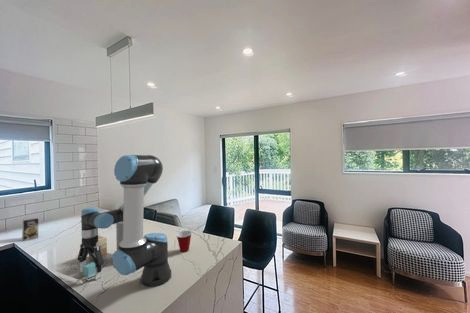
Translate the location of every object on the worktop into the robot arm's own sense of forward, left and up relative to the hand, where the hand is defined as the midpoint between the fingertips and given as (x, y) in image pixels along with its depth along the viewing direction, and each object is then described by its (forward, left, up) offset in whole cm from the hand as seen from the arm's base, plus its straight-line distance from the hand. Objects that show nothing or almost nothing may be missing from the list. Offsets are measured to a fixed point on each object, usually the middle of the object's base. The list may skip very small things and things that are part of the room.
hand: (90, 275), depth 116 cm
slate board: (+14, -12, 0) cm, 18 cm away
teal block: (0, 0, 0) cm, 0 cm away
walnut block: (+16, -14, +1) cm, 21 cm away
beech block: (+16, -14, +7) cm, 22 cm away
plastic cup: (-27, -46, 0) cm, 53 cm away
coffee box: (+111, -17, 0) cm, 112 cm away
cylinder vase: (-3, -21, 0) cm, 21 cm away
